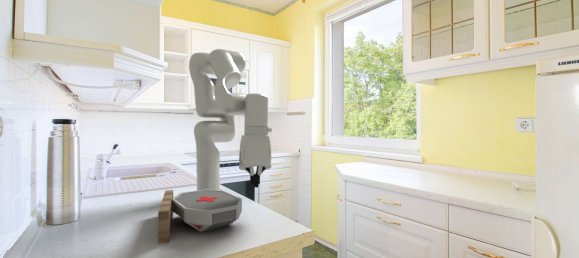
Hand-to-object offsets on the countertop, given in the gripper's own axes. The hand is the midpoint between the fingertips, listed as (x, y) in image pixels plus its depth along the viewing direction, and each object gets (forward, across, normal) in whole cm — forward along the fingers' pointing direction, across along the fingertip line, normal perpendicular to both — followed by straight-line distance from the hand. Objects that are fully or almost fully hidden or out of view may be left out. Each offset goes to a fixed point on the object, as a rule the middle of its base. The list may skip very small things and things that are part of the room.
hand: (254, 186), depth 96 cm
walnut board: (+10, +27, +1) cm, 29 cm away
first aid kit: (+10, +15, +2) cm, 18 cm away
